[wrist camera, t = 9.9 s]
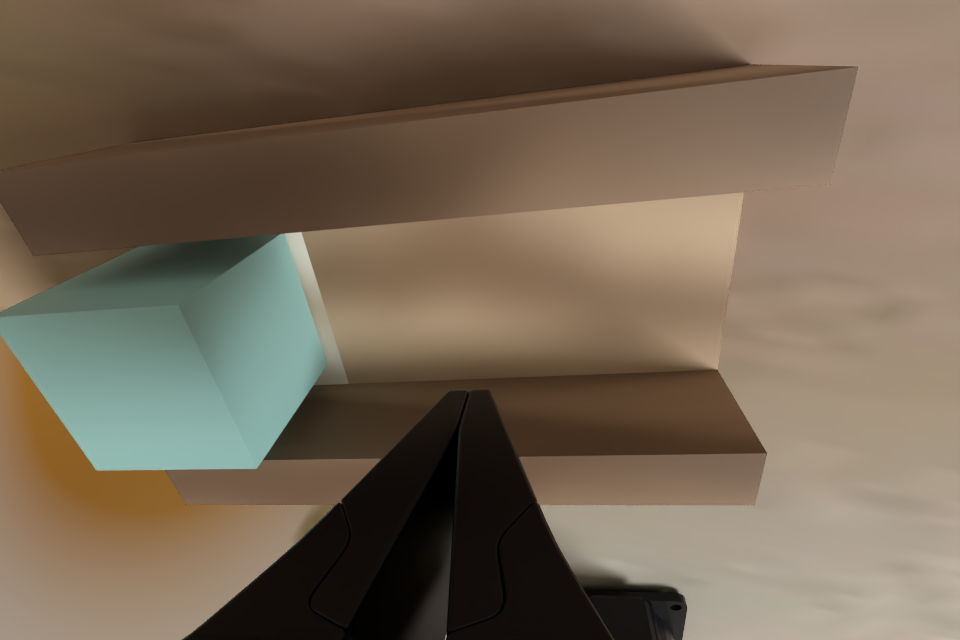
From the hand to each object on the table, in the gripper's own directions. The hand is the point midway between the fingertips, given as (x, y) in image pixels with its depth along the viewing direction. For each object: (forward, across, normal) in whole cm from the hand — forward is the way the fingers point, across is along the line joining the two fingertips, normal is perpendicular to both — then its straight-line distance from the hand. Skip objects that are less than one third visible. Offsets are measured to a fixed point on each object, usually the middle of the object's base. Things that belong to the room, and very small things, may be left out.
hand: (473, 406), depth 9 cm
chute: (+7, +2, 0) cm, 7 cm away
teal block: (+6, +9, 0) cm, 11 cm away
